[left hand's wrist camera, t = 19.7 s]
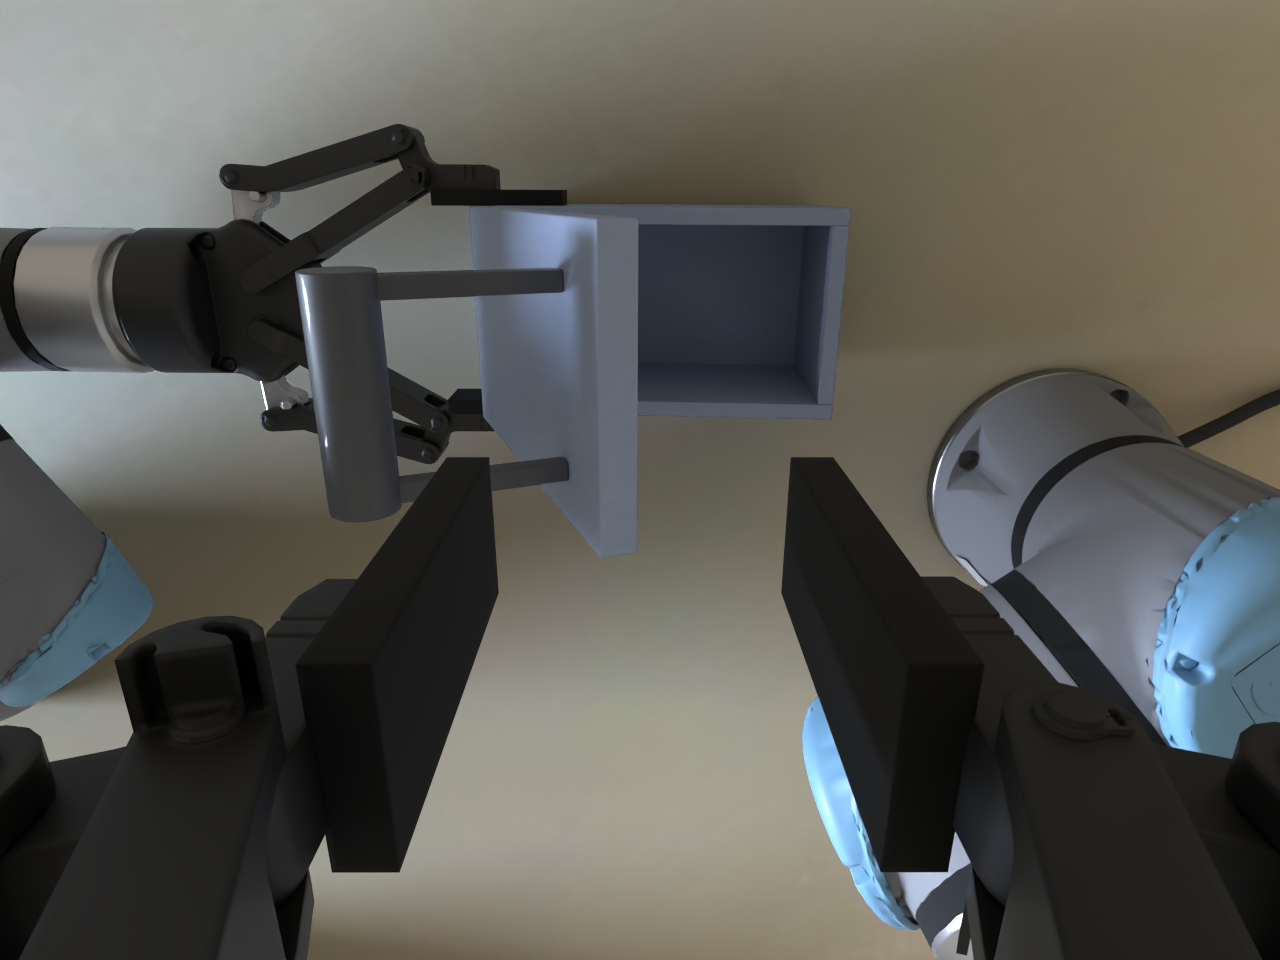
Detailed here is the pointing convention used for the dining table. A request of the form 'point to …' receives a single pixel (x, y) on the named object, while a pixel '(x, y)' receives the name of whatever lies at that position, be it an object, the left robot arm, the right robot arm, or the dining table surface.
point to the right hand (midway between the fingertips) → (567, 304)
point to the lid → (497, 367)
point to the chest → (736, 307)
